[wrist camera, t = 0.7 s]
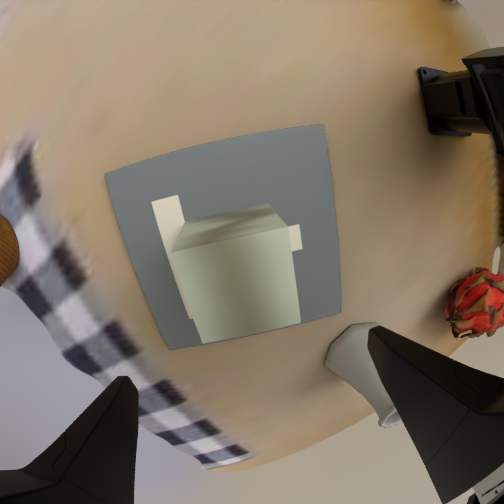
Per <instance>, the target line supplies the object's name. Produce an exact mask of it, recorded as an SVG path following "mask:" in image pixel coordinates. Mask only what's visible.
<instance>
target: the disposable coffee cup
mask: <svg viewBox="0 0 504 504" xmlns="http://www.w3.org/2000/svg"><path fill="white" fill-rule="evenodd" d="M18 262H19V246H18V241H17V238H16V235H15V232H14V230H13V228H12V226H11V225H10V223H9V222H8V221H7V219H6V218H4V217H3V216H2V215H0V286H1V285H2V284H3V283H4V282H5V280H6V279H7V278H8V277H9V276H10V275H11V274H12V272H13V271H14V270H15V269H16V268H17V265H18Z"/></svg>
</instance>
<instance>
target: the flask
mask: <svg viewBox="0 0 504 504" xmlns="http://www.w3.org/2000/svg"><path fill="white" fill-rule="evenodd" d="M375 326H379V325H378V324H377V323H368V324H356V325H351V326H350V327H349V328H348V329H347V330H346V331H345V332H344V333H343V334H342V335H341V336H340V337H338V338H337V339H336V340H335V341H334V342H333V343H332V344H331V346H330V349H329V352H328V355H327V358H326V361H325V364H324V365H326V366H327V367H328V368H329V369H330V370H332V371H333V372H334V373H336V374H337V375H338V376H339V377H341V378H342V379H343V380H345V381H346V382H347V383H348V384H350V385H351V386H352V387H353V388H354V389H356V390H357V391H358V392H359V393H361V394H362V395H363V396H364V397H365V398H366V399H367V401H368V402H369V403H370V404H371V405H372V406H373V407H374V409H375V411H376V412H377V414H378V416H379V419H380V420H379V421H378V424H379V426H380V427H384V428H388V427H391V426H394V425H397V424H398V423H399V422H401V421H402V419H401V417H400V416H399V414H398V412H397V410H396V408H395V406H394V404H393V403H392V401H391V399H390V397H389V395H388V393H387V392H386V390H385V388H384V386H383V384H382V382H381V380H380V378H379V375H378V373H377V370H376V368H375V365H374V363H373V361H372V358H371V356H370V354H369V351H368V348H367V341H368V332H369V329H370V328H372V327H375Z"/></svg>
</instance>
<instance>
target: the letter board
mask: <svg viewBox="0 0 504 504" xmlns="http://www.w3.org/2000/svg"><path fill="white" fill-rule="evenodd" d="M105 178H106V182H107V186H108V190H109V193H110V197H111V200H112V204H113V207H114V211H115V214H116V217H117V221H118V224H119V227H120V230H121V233H122V236H123V239H124V242H125V245H126V248H127V251H128V254H129V257H130V259H131V262H132V265H133V268H134V270H135V273H136V276H137V278H138V281H139V283H140V286H141V288H142V291H143V293H144V296H145V298H146V301H147V303H148V305H149V308H150V310H151V312H152V315H153V317H154V319H155V321H156V324H157V326H158V328H159V330H160V332H161V334H162V336H163V339H164V341H165V343H166V345H167V347H168V349H169V350H174V349H180V348H187V347H193V346H199V345H205V344H210V343H216V342H221V341H227V340H232V339H237V338H242V337H246V336H251V335H256V334H260V333H265V332H269V331H273V330H278V329H282V328H286V327H290V326H294V325H298V324H302V323H306V322H310V321H313V320H317V319H321V318H324V317H328V316H331V315H335V314H338V313H342V308H341V276H340V258H339V243H338V230H337V219H336V209H335V200H334V191H333V183H332V175H331V168H330V161H329V154H328V148H327V141H326V136H325V130H324V124H320V125H311V126H302V127H294V128H286V129H279V130H273V131H266V132H260V133H255V134H249V135H244V136H239V137H233V138H229V139H224V140H219V141H215V142H210V143H206V144H202V145H198V146H193V147H190V148H186V149H182V150H178V151H174V152H171V153H167V154H164V155H160V156H157V157H153V158H150V159H147V160H144V161H141V162H137V163H134V164H131V165H128V166H125V167H122V168H120V169H117V170H114V171H111V172H108V173H106V174H105ZM267 203H268V204H269V205H270V206H271V207H272V208H273V210H274V211H275V212H276V213H277V214H278V215H279V217H280V218H281V219H282V220H283V221H284V223H285V224H286V225H287V226H288V230H289V237H290V244H291V250H292V257H293V264H294V272H295V279H296V286H297V294H298V302H299V310H300V318H301V323H297V324H293V325H289V326H285V327H281V328H277V329H273V330H268V331H264V332H259V333H255V334H250V335H245V336H241V337H236V338H231V339H226V340H220V341H215V342H209V343H204V344H203V343H202V340H201V338H200V335H199V333H198V330H197V328H196V325H195V322H194V320H193V317H192V314H191V312H190V309H189V306H188V304H187V301H186V298H185V295H184V292H183V289H182V287H181V284H180V281H179V278H178V275H177V272H176V269H175V266H174V263H173V260H172V256H171V250H172V248H173V246H174V244H175V242H176V240H177V237H178V235H179V233H180V231H181V229H182V227H183V225H184V223H185V222H186V221H190V220H194V219H199V218H203V217H207V216H211V215H216V214H220V213H225V212H229V211H234V210H238V209H243V208H247V207H252V206H257V205H262V204H267Z"/></svg>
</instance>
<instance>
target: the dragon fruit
mask: <svg viewBox="0 0 504 504" xmlns="http://www.w3.org/2000/svg"><path fill="white" fill-rule="evenodd" d="M451 292H454V293H456V298H455V299H453V300H452V301H451V302H450V303H449V305H448V306H446V307H445V312H446V316H447V318H446V320H447V321H451V325H450V326H452V333H453V335H454V337H455V338H456V339H457V338H458V337H459V336H458V335H459V334H460V333H462V332H465V331H468V330H472V333H468V334H464V335H462V336H461V337H460V338H463V337H465V336H469V338H473V337H479V336H480V335H483V334H484V333H485V332H486V333H487V336H488V337H490V336H492V335H494V333H495V332H496V330H497V329H498V328H500V327H503V326H504V276H503V274H501V272H498V274H497V275H495V274H493V273H491V271H489V269H486V268H482V267H478V268H476V269H475V274H474V275H472V276H470V277H465V278H463V279H462V280H458V281H457V282H456V283H455V284H454V285H453V286H452V288H451V289H450V291H449V292H448V294H449V293H451Z"/></svg>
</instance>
